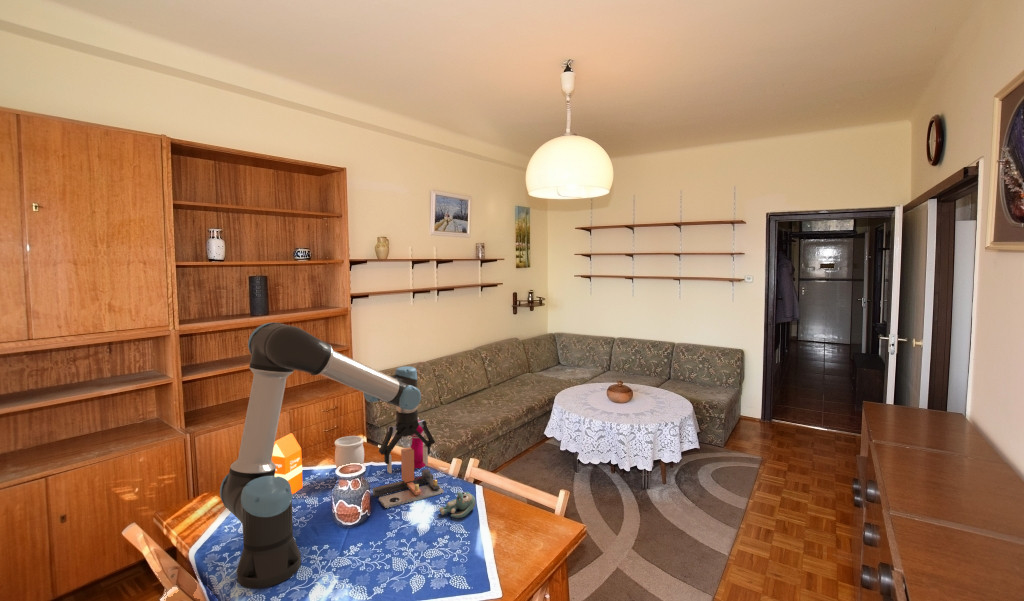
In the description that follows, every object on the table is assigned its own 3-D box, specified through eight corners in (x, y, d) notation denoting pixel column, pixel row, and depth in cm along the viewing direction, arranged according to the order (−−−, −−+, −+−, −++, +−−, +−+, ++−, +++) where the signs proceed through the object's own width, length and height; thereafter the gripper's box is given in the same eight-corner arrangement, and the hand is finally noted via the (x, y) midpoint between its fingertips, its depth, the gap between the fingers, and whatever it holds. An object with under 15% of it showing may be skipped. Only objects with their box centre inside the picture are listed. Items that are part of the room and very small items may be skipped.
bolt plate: (443, 493, 172) (443, 490, 172) (385, 509, 160) (385, 506, 160) (435, 485, 178) (435, 482, 177) (378, 500, 166) (378, 497, 166)
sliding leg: (423, 493, 168) (422, 458, 167) (413, 495, 167) (413, 460, 166) (410, 480, 178) (410, 447, 177) (401, 482, 176) (401, 449, 175)
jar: (370, 477, 184) (369, 438, 183) (348, 488, 175) (347, 447, 174) (352, 470, 190) (351, 433, 189) (329, 480, 181) (328, 441, 180)
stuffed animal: (433, 492, 161) (467, 480, 165) (437, 512, 162) (471, 499, 166) (441, 507, 151) (477, 493, 155) (446, 528, 152) (481, 514, 156)
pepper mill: (430, 465, 195) (429, 416, 193) (415, 471, 190) (414, 421, 188) (419, 460, 200) (418, 412, 198) (404, 465, 195) (404, 417, 193)
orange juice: (267, 496, 169) (265, 440, 167) (284, 485, 178) (282, 431, 176) (286, 498, 167) (284, 442, 166) (303, 487, 176) (301, 433, 174)
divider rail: (443, 490, 173) (443, 478, 173) (382, 507, 161) (382, 494, 161) (431, 479, 182) (431, 468, 182) (372, 494, 170) (372, 482, 170)
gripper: (434, 402, 184) (435, 456, 185) (369, 413, 170) (370, 471, 172) (443, 407, 177) (443, 463, 179) (375, 418, 164) (376, 479, 166)
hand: (407, 467), depth 175 cm, fingers open, 13 cm apart
